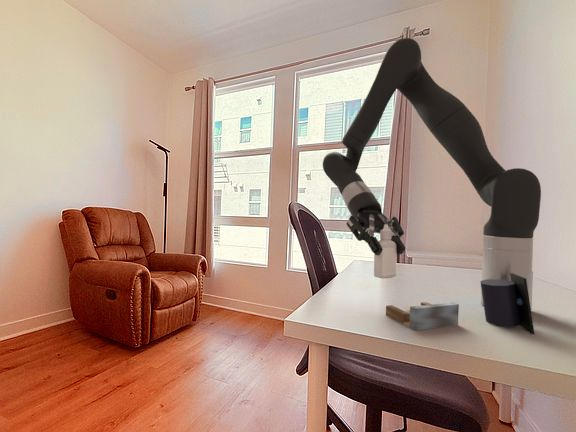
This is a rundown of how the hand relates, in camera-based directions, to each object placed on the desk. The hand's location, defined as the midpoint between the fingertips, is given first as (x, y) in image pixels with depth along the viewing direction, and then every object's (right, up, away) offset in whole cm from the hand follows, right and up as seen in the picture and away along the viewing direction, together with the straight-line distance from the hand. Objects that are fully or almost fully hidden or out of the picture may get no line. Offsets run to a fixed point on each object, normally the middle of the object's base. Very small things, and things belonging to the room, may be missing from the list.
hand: (390, 252), depth 58 cm
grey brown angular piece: (+4, -13, -5) cm, 15 cm away
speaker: (+20, -14, -6) cm, 25 cm away
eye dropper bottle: (-1, -6, +2) cm, 6 cm away
